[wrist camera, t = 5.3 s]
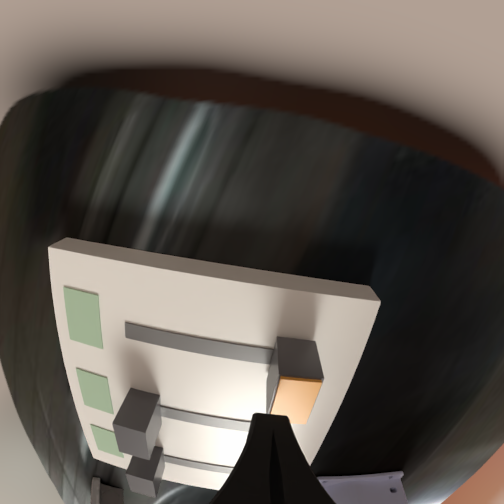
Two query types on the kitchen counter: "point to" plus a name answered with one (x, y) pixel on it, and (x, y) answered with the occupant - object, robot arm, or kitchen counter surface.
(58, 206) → the kitchen counter surface
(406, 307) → the kitchen counter surface
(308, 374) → the handle
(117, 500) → the electrical switch
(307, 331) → the breaker panel
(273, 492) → the robot arm
